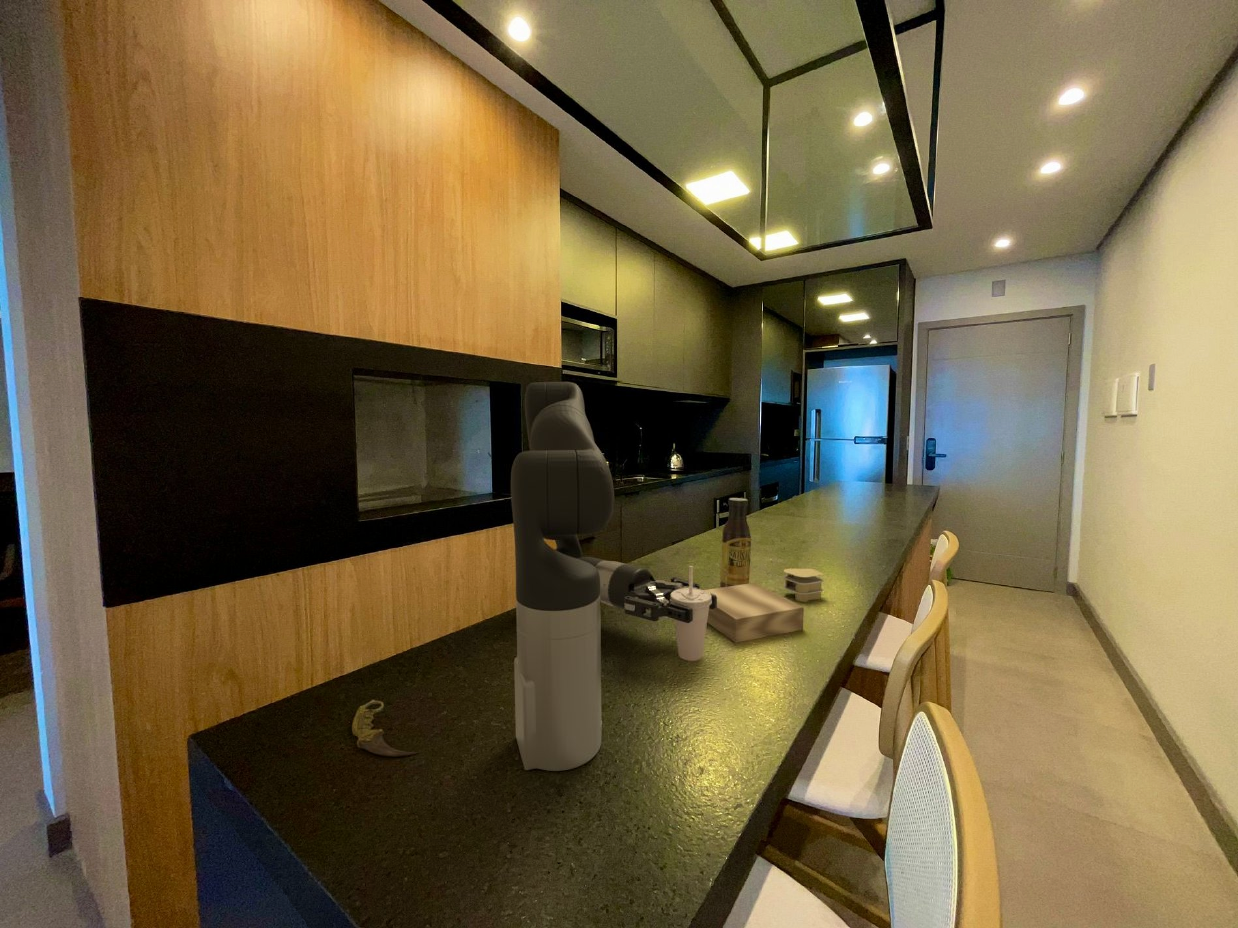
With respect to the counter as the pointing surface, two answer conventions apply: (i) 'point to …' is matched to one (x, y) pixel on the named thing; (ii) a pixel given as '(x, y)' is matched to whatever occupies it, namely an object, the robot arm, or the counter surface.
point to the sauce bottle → (735, 545)
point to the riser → (753, 612)
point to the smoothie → (693, 632)
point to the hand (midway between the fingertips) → (703, 608)
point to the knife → (372, 733)
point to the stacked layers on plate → (803, 583)
